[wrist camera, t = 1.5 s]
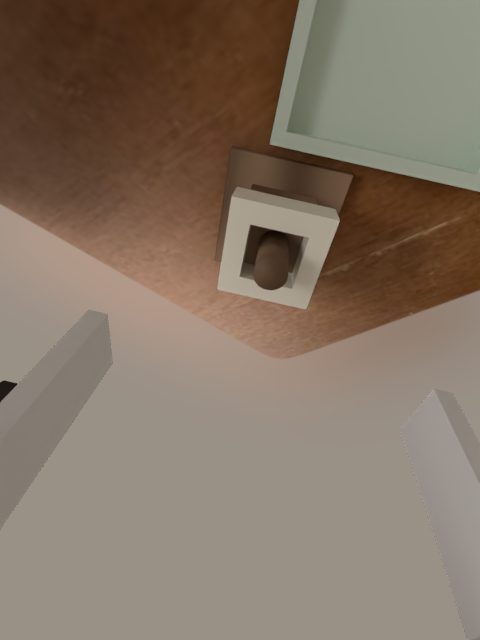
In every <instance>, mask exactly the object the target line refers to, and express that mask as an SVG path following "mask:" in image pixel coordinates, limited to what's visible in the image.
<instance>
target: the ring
mask: <svg viewBox="0 0 480 640" xmlns="http://www.w3.org/2000/svg"><path fill="white" fill-rule="evenodd" d="M339 222H340V220H339V217H338V214H337V212H336V209H333V208H329V207H325V206H320V205H316V204H311V203H307V202H302V201H298V200H294V199H289V198H285V197H280V196H276V195H271V194H267V193H263V192H258V191H254V190H249V189H245V188H241V187H237V188H236V189H235V191H234V193H233V194H232V196H231V203H230V209H229V215H228V222H227V228H226V235H225V241H224V247H223V254H222V260H221V267H220V273H219V279H218V286H217V290H221V291H226V292H230V293H234V294H239V295H243V296H248V297H252V298H256V299H261V300H265V301H270V302H274V303H279V304H283V305H287V306H292V307H296V308H301V309H305V310H306V308H307V306H308V303H309V301H310V298H311V295H312V293H313V290H314V287H315V285H316V282H317V280H318V277H319V274H320V272H321V269H322V266H323V264H324V261H325V259H326V256H327V253H328V251H329V248H330V245H331V243H332V240H333V238H334V235H335V232H336V230H337V227H338V224H339ZM251 225H255V226H259V227H263V228H268V229H272V230H277V231H281V232H285V233H290V234H294V235H299V236H303V237H304V238H303V241H302V244H301V247H300V251H299V254H298V257H297V260H296V263H295V266H294V269H293V273H289V272H288V279H287V281H286V283H285V284H284V285H283V286H282V287H281V288H279V289H276V290H265V289H263V288H261V287H259V286H258V285H257V284H256V282H255V281H254V278H253V272H254V267H255V265H254V264H249V263H245V262H244V258H245V253H246V248H247V243H248V238H249V234H250V229H251Z"/></svg>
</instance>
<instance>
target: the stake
mask: <svg viewBox="0 0 480 640" xmlns="http://www.w3.org/2000/svg"><path fill="white" fill-rule="evenodd" d="M352 178H353V174H352V173H349V172H345V171H340V170H336V169H331V168H327V167H322V166H318V165H314V164H309V163H305V162H300V161H296V160H291V159H287V158H283V157H278V156H274V155H269V154H265V153H260V152H256V151H252V150H247V149H243V148H238V147H234V146H232V147H231V149H230V157H229V164H228V171H227V178H226V185H225V192H224V199H223V206H222V213H221V220H220V227H219V234H218V241H217V248H216V255H215V261H219V262H221V260H222V254H223V247H224V241H225V235H226V228H227V222H228V215H229V209H230V203H231V196H232V194H233V193H234V191H235V189H236V188H237V187H241V188H245V189H249V190H254V191H258V192H263V193H267V194H271V195H276V196H280V197H285V198H289V199H294V200H298V201H302V202H307V203H311V204H316V205H320V206H325V207H329V208H333V209H336V212H337V214H338V215H339V213H340V210H341V207H342V205H343V202H344V199H345V197H346V194H347V191H348V189H349V186H350V183H351V181H352ZM303 238H304V237H303V236H299V235H294V234H290V233H285V232H281V231H277V230H272V229H268V228H263V227H259V226H255V225H251V229H250V234H249V238H248V243H247V248H246V253H245V258H244V262H245V263H249V264H254V265H255V267H254V272H253V278H254V281H255V282H256V284H257V285H258V286H259V287H261V288H263V289H265V290H276V289H279V288H281V287H282V286H283V285H284V284H285V283H286V281H287V279H288V272H289V273H293V269H294V266H295V263H296V260H297V257H298V254H299V251H300V247H301V244H302V241H303Z"/></svg>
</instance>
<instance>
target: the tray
mask: <svg viewBox="0 0 480 640" xmlns="http://www.w3.org/2000/svg"><path fill="white" fill-rule="evenodd" d="M270 145H274V146H279V147H283V148H288V149H292V150H297V151H301V152H305V153H310V154H314V155H319V156H323V157H328V158H332V159H336V160H341V161H345V162H350V163H354V164H359V165H363V166H367V167H372V168H376V169H381V170H385V171H390V172H394V173H398V174H403V175H407V176H412V177H416V178H421V179H425V180H429V181H434V182H438V183H443V184H447V185H451V186H456V187H460V188H465V189H469V190H474V191H478V192H480V0H299V5H298V10H297V14H296V19H295V24H294V29H293V34H292V38H291V43H290V48H289V53H288V58H287V62H286V67H285V72H284V77H283V82H282V87H281V91H280V96H279V101H278V106H277V111H276V115H275V120H274V125H273V130H272V135H271V139H270Z"/></svg>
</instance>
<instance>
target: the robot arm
mask: <svg viewBox="0 0 480 640" xmlns="http://www.w3.org/2000/svg"><path fill="white" fill-rule="evenodd" d="M112 363H113V362H112V352H111V342H110V332H109V323H108V314H105V313H100V312H96V311H91V310H88V311H87V312H86V313H85V314H84V315H83V317H81V318H80V320H79V321H78V322H77V323H76V324H75V325H74V326H73V327H72V328H71V329H70V330H69V331H68V332H67V333H66V334H65V335H64V336H63V337H62V338H61V339H60V341H58V343H57V344H56V345H55V346H54V347H53V348H52V349H51V350H50V351H49V352H48V353H47V354H46V355H45V356H44V357H43V358H42V359H41V360H40V361H39V362H38V364H36V366H35V367H34V368H33V369H32V370H31V371H30V372H29V373H28V374H27V375H26V376H25V377H24V378H23V379H22V380H21V381H20V382H19V383H18V384H17V383H12V382H8V381H2V382H0V529H1V528H2V526H3V525H4V523H5V522H6V520H7V519H8V517H9V516H10V514H11V513H12V511H13V510H14V508H15V507H16V505H17V504H18V502H19V501H20V500H21V498H22V497H23V495H24V494H25V492H26V490H27V489H28V487H29V486H30V485H31V483H32V482H33V480H34V479H35V477H36V476H37V474H38V473H39V471H40V470H41V468H42V467H43V466H44V464H45V463H46V461H47V460H48V458H49V457H50V455H51V454H52V452H53V451H54V449H55V448H56V446H57V445H58V443H59V442H60V440H61V439H62V437H63V436H64V434H65V433H66V431H67V430H68V428H69V427H70V426H71V424H72V423H73V421H74V419H75V418H76V417H77V415H78V414H79V412H80V411H81V409H82V408H83V406H84V405H85V403H86V402H87V400H88V399H89V397H90V396H91V394H92V393H93V391H94V390H95V388H96V387H97V385H98V384H99V383H100V381H101V380H102V378H103V377H104V375H105V374H106V372H107V371H108V369H109V368H110V366H111V365H112ZM400 432H401V435H402V438H403V441H404V444H405V447H406V450H407V454H408V457H409V460H410V463H411V466H412V469H413V472H414V476H415V478H416V482H417V484H418V488H419V491H420V494H421V497H422V500H423V503H424V507H425V510H426V512H427V516H428V519H429V522H430V525H431V528H432V531H433V534H434V538H435V541H436V544H437V547H438V550H439V553H440V557H441V560H442V563H443V566H444V569H445V572H446V575H447V578H448V581H449V585H450V588H451V591H452V594H453V597H454V600H455V603H456V606H457V609H458V613H459V616H460V619H461V622H462V625H463V628H464V631H465V634H466V638H467V640H480V443H479V441H478V439H477V437H476V435H475V433H474V432H473V430H472V428H471V426H470V424H469V422H468V420H467V418H466V417H465V415H464V413H463V411H462V409H461V407H460V405H459V404H458V402H457V400H456V398H455V396H454V394H453V393H450V392H445V391H441V390H437V389H433V390H432V391H431V393H430V394H429V395H428V396H427V397H426V399H425V400H424V401H423V402H422V403H421V404H420V406H419V407H418V408H417V409H416V410H415V411H414V413H413V414H412V415H411V416H410V418H409V419H408V420H407V421H406V422H405V423H404V424H403V426H402V427H401V428H400Z"/></svg>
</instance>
